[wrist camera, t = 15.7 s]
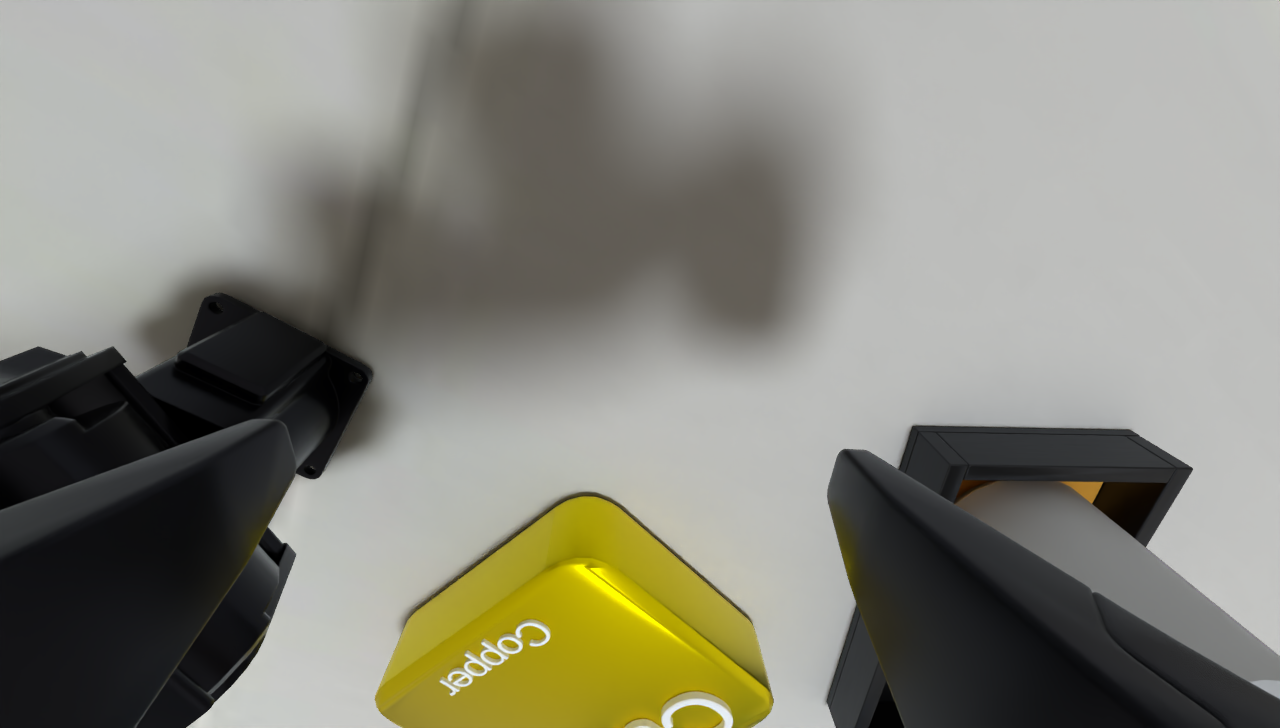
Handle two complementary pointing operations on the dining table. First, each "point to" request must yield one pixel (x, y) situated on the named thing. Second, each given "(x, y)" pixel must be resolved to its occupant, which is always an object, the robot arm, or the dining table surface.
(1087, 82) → the dining table surface
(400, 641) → the element tile
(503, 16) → the dining table surface
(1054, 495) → the can
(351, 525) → the dining table surface
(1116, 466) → the black divided tray
